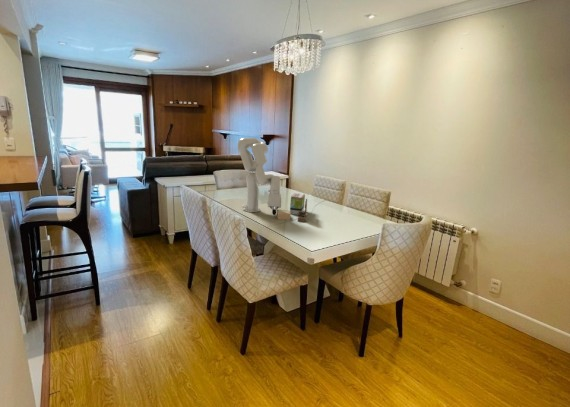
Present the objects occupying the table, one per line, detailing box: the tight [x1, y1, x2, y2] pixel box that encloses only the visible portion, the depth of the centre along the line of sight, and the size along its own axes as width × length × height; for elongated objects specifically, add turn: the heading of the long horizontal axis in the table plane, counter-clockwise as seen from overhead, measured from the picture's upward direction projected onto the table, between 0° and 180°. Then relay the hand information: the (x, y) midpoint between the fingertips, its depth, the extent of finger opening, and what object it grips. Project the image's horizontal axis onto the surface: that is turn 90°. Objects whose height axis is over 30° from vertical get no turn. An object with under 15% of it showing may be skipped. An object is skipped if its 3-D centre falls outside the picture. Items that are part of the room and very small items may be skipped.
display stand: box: [297, 198, 308, 223], centre depth 240 cm, size 6×19×14 cm, turn 175°
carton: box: [276, 208, 291, 220], centre depth 242 cm, size 9×12×5 cm
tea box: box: [289, 192, 306, 216], centre depth 257 cm, size 15×10×15 cm, turn 168°
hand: (274, 214), depth 242 cm, fingers closed
